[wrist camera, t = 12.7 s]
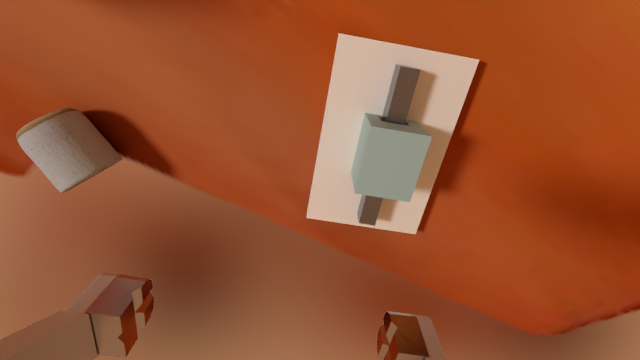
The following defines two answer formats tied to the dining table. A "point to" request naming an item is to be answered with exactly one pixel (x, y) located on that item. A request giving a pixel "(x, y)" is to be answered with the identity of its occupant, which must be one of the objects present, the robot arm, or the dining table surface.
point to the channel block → (389, 158)
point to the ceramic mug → (66, 147)
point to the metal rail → (392, 113)
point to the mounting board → (370, 97)
